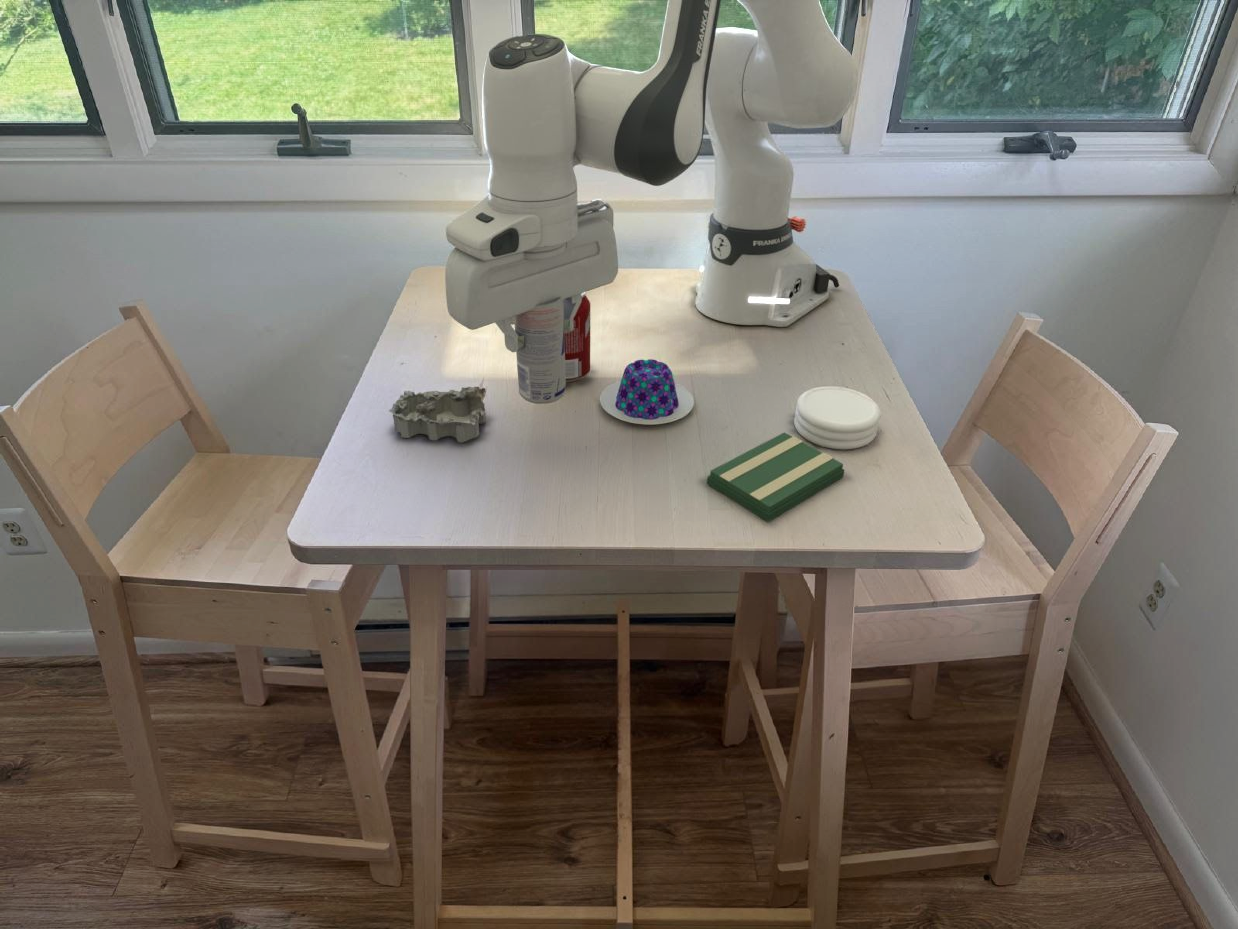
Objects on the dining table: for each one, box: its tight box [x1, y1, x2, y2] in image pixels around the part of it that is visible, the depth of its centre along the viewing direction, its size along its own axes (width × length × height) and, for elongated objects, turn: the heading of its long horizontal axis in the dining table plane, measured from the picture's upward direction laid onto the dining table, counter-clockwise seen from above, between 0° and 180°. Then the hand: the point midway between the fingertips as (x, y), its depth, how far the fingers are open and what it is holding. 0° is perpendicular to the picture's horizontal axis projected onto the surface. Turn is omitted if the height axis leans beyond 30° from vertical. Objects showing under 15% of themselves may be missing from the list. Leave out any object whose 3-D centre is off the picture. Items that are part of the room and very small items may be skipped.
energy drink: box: [514, 297, 567, 405], centre depth 96 cm, size 5×5×12 cm
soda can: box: [563, 291, 591, 384], centre depth 114 cm, size 7×7×12 cm
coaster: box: [793, 385, 882, 450], centre depth 106 cm, size 10×10×4 cm
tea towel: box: [706, 432, 845, 522], centre depth 97 cm, size 13×9×2 cm
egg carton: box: [388, 386, 487, 443], centre depth 105 cm, size 11×8×4 cm
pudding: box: [599, 358, 695, 425], centre depth 110 cm, size 12×12×5 cm
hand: (539, 340), depth 95 cm, fingers closed on energy drink, 5 cm apart
